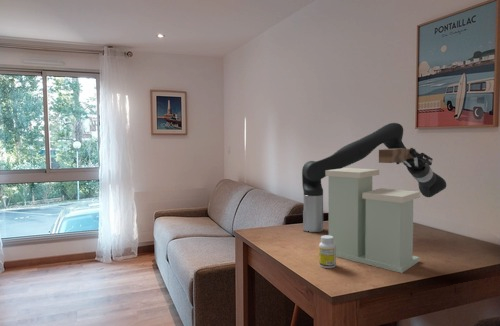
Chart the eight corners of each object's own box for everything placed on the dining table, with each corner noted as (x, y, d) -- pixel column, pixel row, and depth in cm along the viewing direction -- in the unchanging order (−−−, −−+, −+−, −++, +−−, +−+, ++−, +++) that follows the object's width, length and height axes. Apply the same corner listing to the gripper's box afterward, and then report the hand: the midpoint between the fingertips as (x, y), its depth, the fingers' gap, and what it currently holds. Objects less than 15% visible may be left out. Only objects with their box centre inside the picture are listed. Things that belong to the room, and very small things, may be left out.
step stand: (401, 273, 117) (403, 175, 115) (325, 253, 137) (325, 170, 135) (419, 261, 127) (420, 171, 125) (346, 245, 148) (346, 167, 146)
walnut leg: (391, 163, 119) (391, 149, 119) (378, 162, 123) (378, 149, 122) (416, 159, 135) (416, 147, 135) (404, 158, 138) (404, 147, 138)
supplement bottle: (323, 261, 129) (323, 233, 128) (338, 265, 125) (338, 236, 124) (316, 266, 124) (316, 237, 124) (331, 269, 121) (331, 239, 120)
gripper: (404, 161, 150) (388, 141, 139) (441, 162, 140) (427, 140, 129) (400, 177, 148) (384, 158, 137) (437, 179, 138) (423, 159, 127)
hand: (405, 150), depth 133 cm, fingers closed on walnut leg, 3 cm apart
